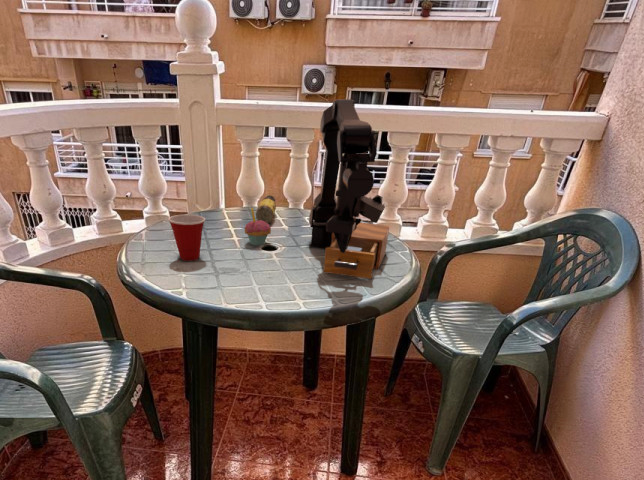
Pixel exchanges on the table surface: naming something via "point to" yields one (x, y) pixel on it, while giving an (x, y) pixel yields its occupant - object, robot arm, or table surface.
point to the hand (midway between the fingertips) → (343, 250)
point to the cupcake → (257, 231)
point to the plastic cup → (187, 235)
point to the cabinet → (372, 238)
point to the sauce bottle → (266, 209)
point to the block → (354, 248)
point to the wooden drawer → (351, 259)
